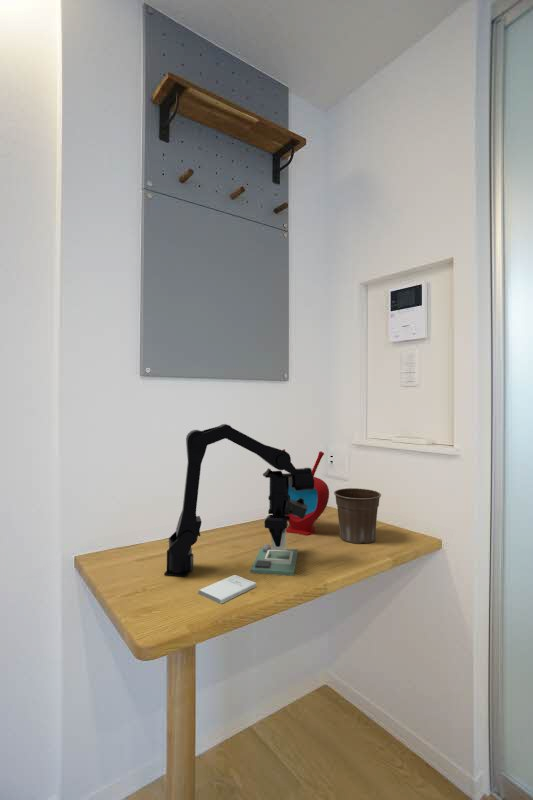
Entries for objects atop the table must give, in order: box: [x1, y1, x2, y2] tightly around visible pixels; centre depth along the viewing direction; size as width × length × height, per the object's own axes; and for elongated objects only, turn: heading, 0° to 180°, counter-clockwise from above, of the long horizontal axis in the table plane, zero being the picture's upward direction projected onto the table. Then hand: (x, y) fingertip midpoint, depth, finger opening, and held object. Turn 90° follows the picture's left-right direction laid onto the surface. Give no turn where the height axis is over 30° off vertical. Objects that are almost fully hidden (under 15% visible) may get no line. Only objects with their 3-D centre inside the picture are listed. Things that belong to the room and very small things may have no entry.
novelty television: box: [282, 449, 330, 536], centre depth 155 cm, size 21×13×30 cm, turn 62°
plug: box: [270, 529, 287, 550], centre depth 123 cm, size 4×4×6 cm
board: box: [250, 544, 299, 577], centre depth 123 cm, size 12×18×3 cm, turn 172°
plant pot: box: [333, 487, 382, 545], centre depth 145 cm, size 16×16×16 cm
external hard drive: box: [197, 574, 257, 605], centre depth 104 cm, size 2×8×12 cm
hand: (278, 544), depth 123 cm, fingers closed on plug, 4 cm apart
